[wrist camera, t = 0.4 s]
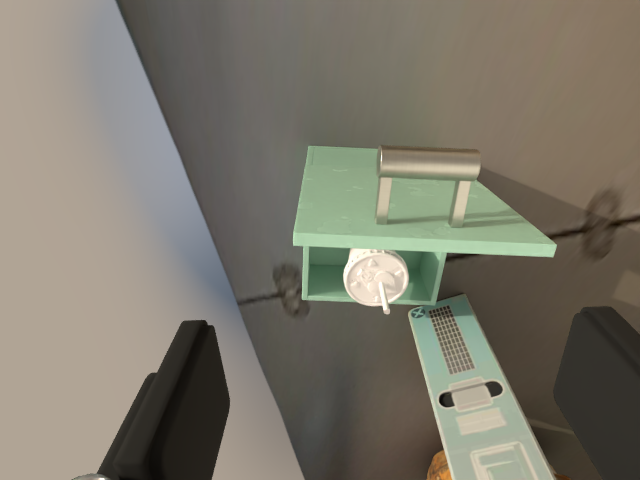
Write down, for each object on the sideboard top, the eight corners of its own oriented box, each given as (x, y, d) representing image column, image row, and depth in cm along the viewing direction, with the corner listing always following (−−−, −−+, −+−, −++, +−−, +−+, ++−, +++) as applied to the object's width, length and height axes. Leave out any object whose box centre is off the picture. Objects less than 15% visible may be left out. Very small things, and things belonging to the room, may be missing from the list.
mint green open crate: (422, 270, 52) (435, 305, 45) (304, 265, 52) (301, 300, 45) (445, 151, 44) (464, 174, 38) (308, 145, 44) (305, 167, 38)
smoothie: (374, 266, 51) (390, 346, 38) (330, 242, 49) (331, 318, 37) (406, 226, 48) (433, 299, 36) (360, 199, 47) (371, 266, 34)
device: (406, 309, 55) (480, 584, 28) (464, 292, 53) (599, 565, 27) (436, 390, 62) (516, 669, 36) (488, 377, 61) (612, 658, 34)
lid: (553, 257, 23) (582, 162, 21) (293, 246, 23) (294, 149, 21) (465, 180, 38) (476, 119, 36) (305, 173, 38) (307, 111, 36)
